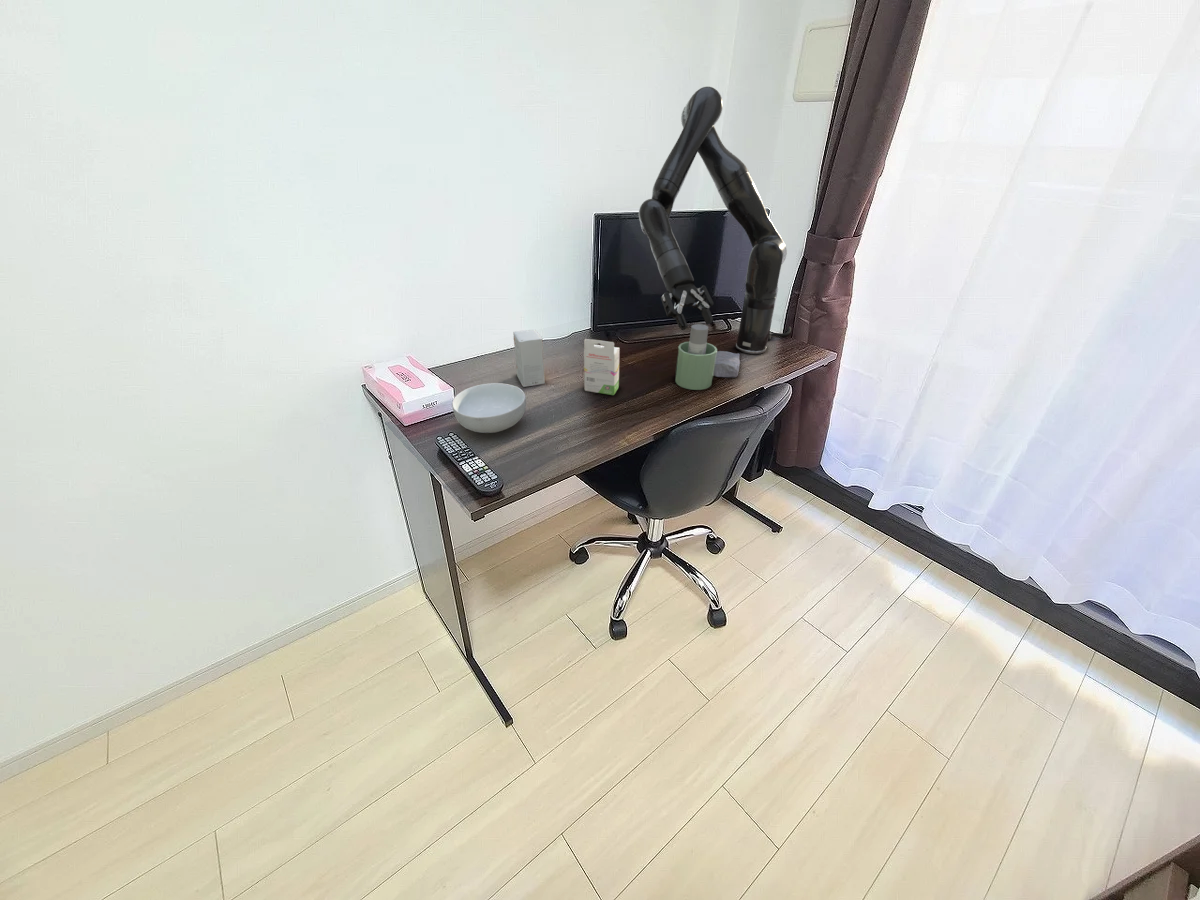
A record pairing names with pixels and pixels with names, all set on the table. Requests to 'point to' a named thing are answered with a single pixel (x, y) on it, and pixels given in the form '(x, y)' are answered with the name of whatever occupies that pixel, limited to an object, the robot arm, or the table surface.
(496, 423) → the cereal bowl
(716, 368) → the stone block
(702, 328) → the container
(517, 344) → the small box
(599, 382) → the ink box
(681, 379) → the pen cup
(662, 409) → the table surface
